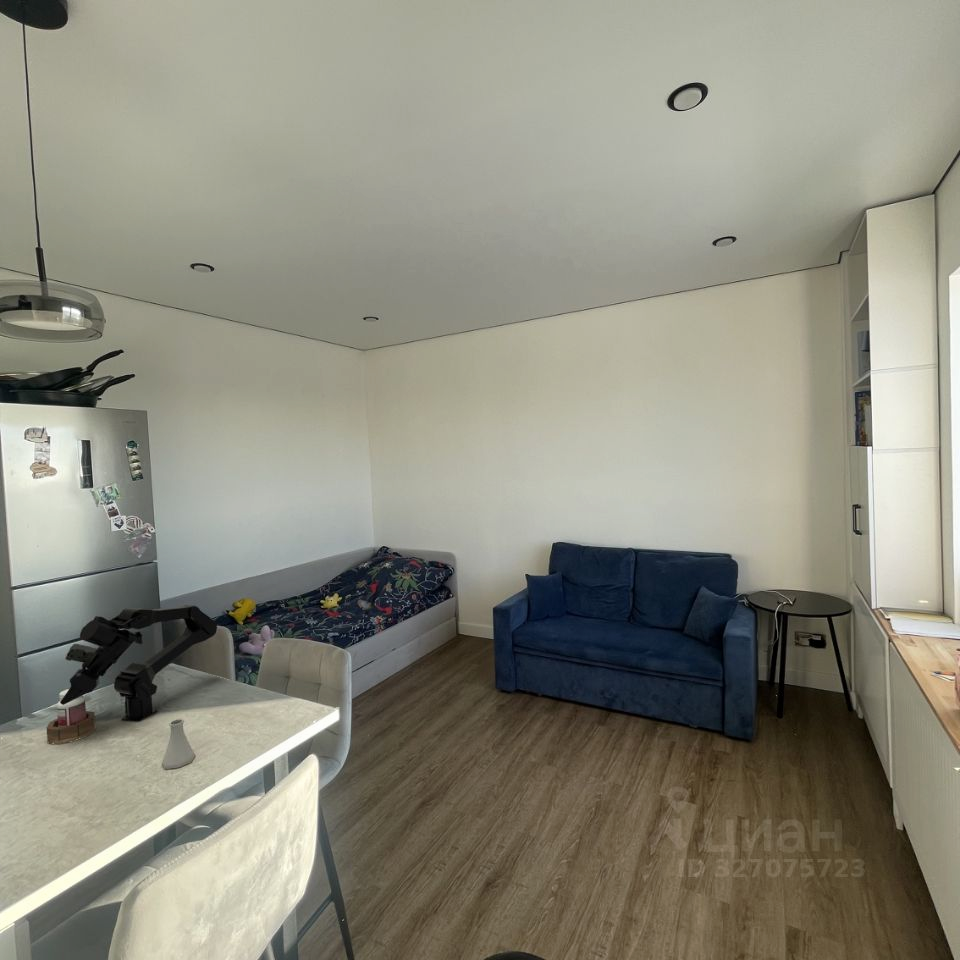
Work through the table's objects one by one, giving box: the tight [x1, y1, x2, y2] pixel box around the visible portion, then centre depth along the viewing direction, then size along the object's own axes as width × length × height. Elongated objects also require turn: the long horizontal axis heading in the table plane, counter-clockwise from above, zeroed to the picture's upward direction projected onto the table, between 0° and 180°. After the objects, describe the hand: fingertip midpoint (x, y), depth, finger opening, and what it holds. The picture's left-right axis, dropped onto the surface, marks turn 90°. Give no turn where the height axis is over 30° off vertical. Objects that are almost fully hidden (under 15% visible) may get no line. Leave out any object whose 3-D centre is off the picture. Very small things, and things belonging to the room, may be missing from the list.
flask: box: [161, 718, 196, 770], centre depth 126 cm, size 7×7×10 cm
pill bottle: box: [56, 688, 87, 727], centre depth 142 cm, size 6×6×11 cm
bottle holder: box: [46, 710, 97, 745], centre depth 142 cm, size 10×10×4 cm
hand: (66, 697), depth 141 cm, fingers open, 9 cm apart
